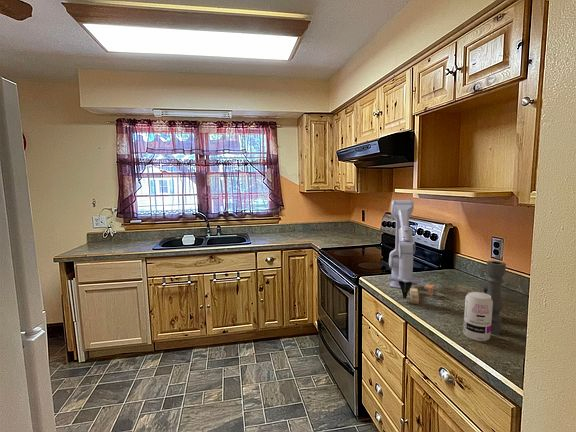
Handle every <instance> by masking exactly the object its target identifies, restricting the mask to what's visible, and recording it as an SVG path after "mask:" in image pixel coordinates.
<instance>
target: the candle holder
mask: <svg viewBox="0 0 576 432" xmlns="http://www.w3.org/2000/svg"><path fill="white" fill-rule="evenodd" d="M506 268H507V263H505V262H502V261H496V260H488V261H486V270H485V271H486V273H487V275H488V277H487V278H486V281H487V286H488V291H487V294H488V295H490V296H491V298H492V300H493V308H492V321H491V334H493V335H499V334H502V332H503V331H502V329H503V322H502V317H501V316H500V314H501V312H502V311H503V309H504V303H503V298H502V293H501V292H502V284H504V282H505V280H504V279H503V277H504V276H505V274H506Z"/></svg>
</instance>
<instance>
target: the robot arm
mask: <svg viewBox="0 0 576 432" xmlns="http://www.w3.org/2000/svg"><path fill="white" fill-rule="evenodd" d="M414 204H415V203H414V201H413V199H411V200H409V199H406V200H404V199H403V200H402V199H401V200H400V199H399V200H397V199H393V200H391V203H390V205H391V206H390V208H391V210H390V214H391V216H392V217H394V218H395V242H394V243H395V247H394V249H393V250H391V251H390V252H389V254H388V255H389V256H388V257H389V258H388V265H389V268H391V275H387V276H388V278H387V282H390V284H389V286H388V287H391V288H399V289H401V293H402V299H405V300H406V299H407V297H408V295H409V294H408V292H409V290H410V288H411V286H412V283H417V284H419V285H423V284H424V278H420V277H414V276H413V270H414V269H413V268H414V255H415V253H416V243H415V240H414V238H413V229H412V228H411V227H410V217H411V216H412V213H413V212H414Z"/></svg>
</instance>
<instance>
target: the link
mask: <svg viewBox="0 0 576 432" xmlns="http://www.w3.org/2000/svg"><path fill="white" fill-rule="evenodd" d="M419 294H420V288H419V285H418V284H416V285H415V288H414V287H411V288H410V290H409V292H408V294H407V295H409V296H410V303H411V304H416V305H419V302H420V296H419Z"/></svg>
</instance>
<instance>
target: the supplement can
mask: <svg viewBox="0 0 576 432" xmlns="http://www.w3.org/2000/svg"><path fill="white" fill-rule="evenodd" d="M492 308H493V300H492V298H491V296H490V295H488V294H486V293H484V292H481V291H468V292H467V294H466V296H465V300H464V313H463V314H464V315H463V328H462V329H463V331H462V333H463V334H464V335H465V337H467V338H468V339H470V340H473V341H477V342H486V341H489V340H490V339H491V335H492V333H491V321H492Z"/></svg>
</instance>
